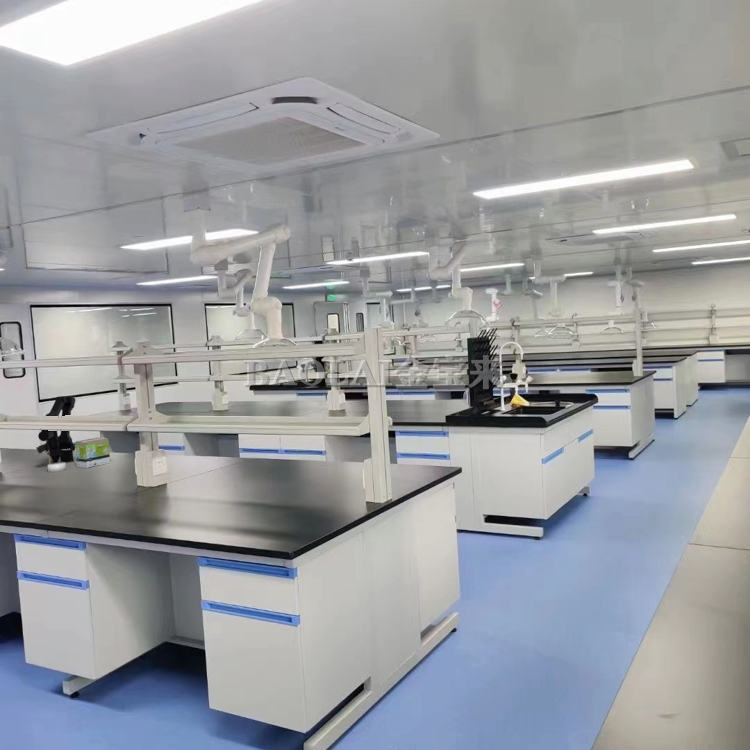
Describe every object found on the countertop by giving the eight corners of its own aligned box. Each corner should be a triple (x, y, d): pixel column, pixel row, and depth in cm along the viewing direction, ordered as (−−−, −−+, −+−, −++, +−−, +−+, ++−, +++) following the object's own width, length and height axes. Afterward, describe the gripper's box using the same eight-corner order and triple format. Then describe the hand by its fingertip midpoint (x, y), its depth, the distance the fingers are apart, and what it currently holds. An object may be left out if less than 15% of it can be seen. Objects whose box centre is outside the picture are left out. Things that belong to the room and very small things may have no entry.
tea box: (87, 468, 368) (85, 442, 367) (76, 467, 374) (74, 441, 373) (110, 463, 381) (108, 437, 380) (99, 462, 386) (97, 436, 385)
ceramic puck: (64, 468, 373) (64, 461, 373) (67, 470, 366) (66, 463, 365) (47, 471, 368) (46, 463, 368) (49, 473, 361) (48, 466, 361)
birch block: (59, 465, 381) (58, 455, 380) (60, 467, 377) (59, 456, 376) (49, 467, 378) (48, 456, 378) (50, 468, 374) (49, 458, 374)
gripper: (34, 438, 380) (37, 465, 381) (38, 442, 364) (41, 470, 365) (55, 435, 386) (58, 462, 387) (60, 439, 370) (63, 467, 371)
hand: (54, 465), depth 377 cm, fingers closed on birch block, 5 cm apart
